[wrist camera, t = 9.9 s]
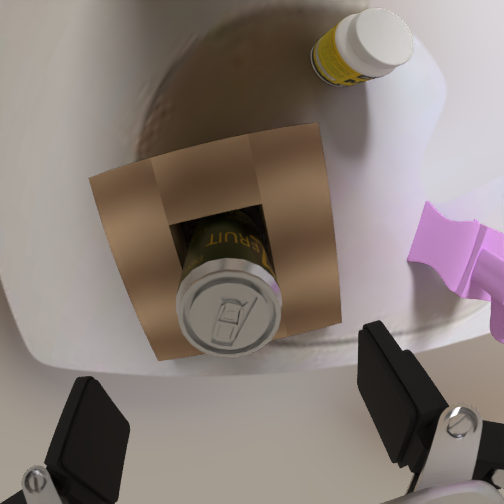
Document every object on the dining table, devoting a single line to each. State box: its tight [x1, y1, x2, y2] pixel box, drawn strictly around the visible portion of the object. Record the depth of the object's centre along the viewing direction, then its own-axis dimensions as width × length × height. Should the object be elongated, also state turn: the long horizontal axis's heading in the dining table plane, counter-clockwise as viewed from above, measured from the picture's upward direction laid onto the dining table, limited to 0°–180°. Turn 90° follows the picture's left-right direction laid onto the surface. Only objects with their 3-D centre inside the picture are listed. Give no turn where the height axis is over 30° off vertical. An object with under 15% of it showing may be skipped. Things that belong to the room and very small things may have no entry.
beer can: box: [176, 209, 282, 358], centre depth 20 cm, size 5×5×12 cm
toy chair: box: [407, 201, 504, 343], centre depth 21 cm, size 8×9×15 cm
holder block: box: [89, 122, 342, 361], centre depth 24 cm, size 16×16×4 cm
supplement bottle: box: [311, 8, 414, 87], centre depth 17 cm, size 5×5×8 cm
